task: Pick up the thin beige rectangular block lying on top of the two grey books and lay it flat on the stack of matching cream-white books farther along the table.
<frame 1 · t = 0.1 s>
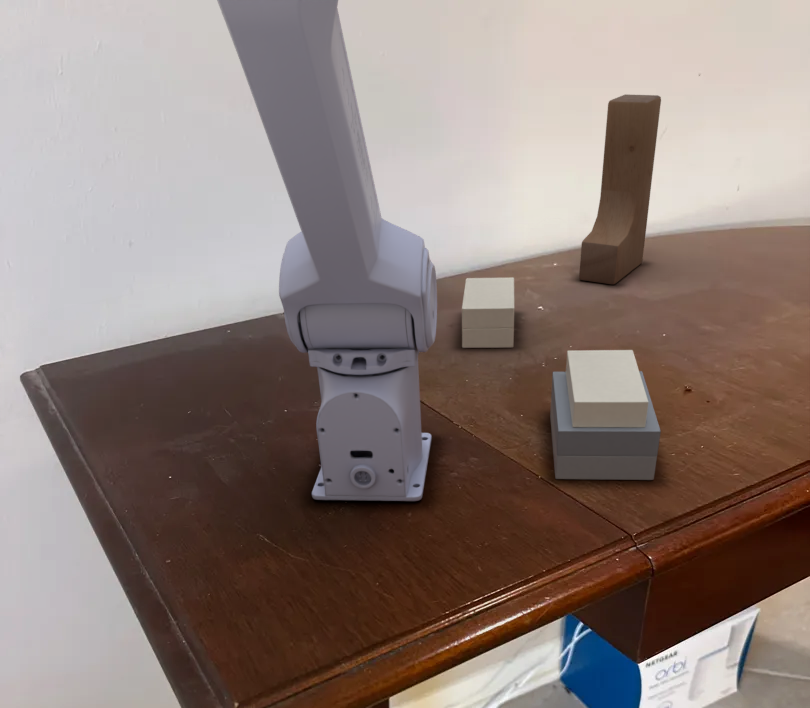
beige rectangular block: (602, 399, 61), point 4 cm above the table, touching grey book 2
wooden block: (610, 273, 96), on the table
grey book 1: (598, 446, 63), on the table, touching grey book 2
white book 1: (488, 330, 83), on the table, touching white book 2
grey book 2: (600, 423, 62), point 2 cm above the table, touching grey book 1, beige rectangular block
white book 2: (488, 311, 82), point 2 cm above the table, touching white book 1
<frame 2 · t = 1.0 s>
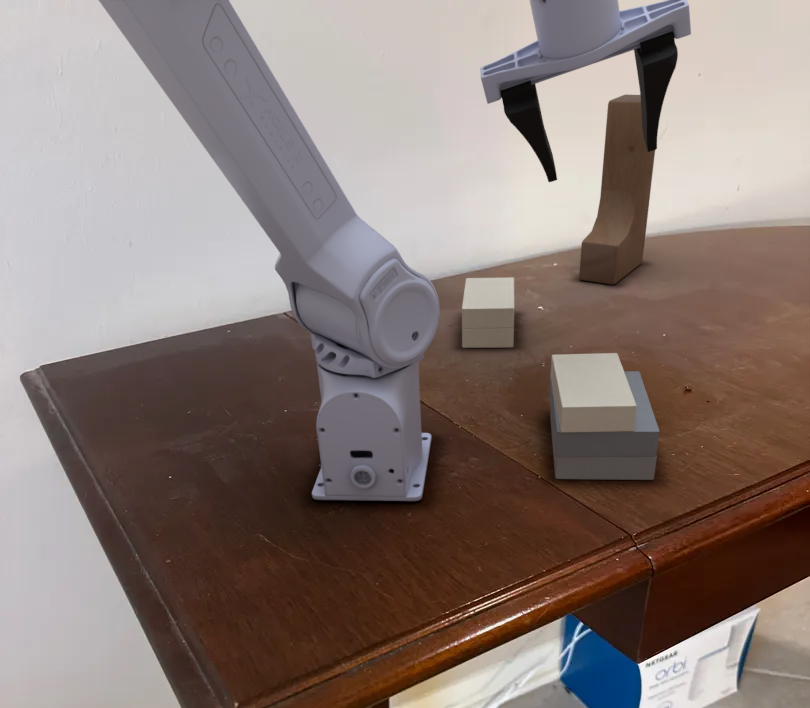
hand: (600, 160, 64), 18 cm above the table, tool tilted 20°, fingers open, 7 cm apart
beige rectangular block: (589, 403, 60), point 4 cm above the table, touching grey book 2
everything else where it was.
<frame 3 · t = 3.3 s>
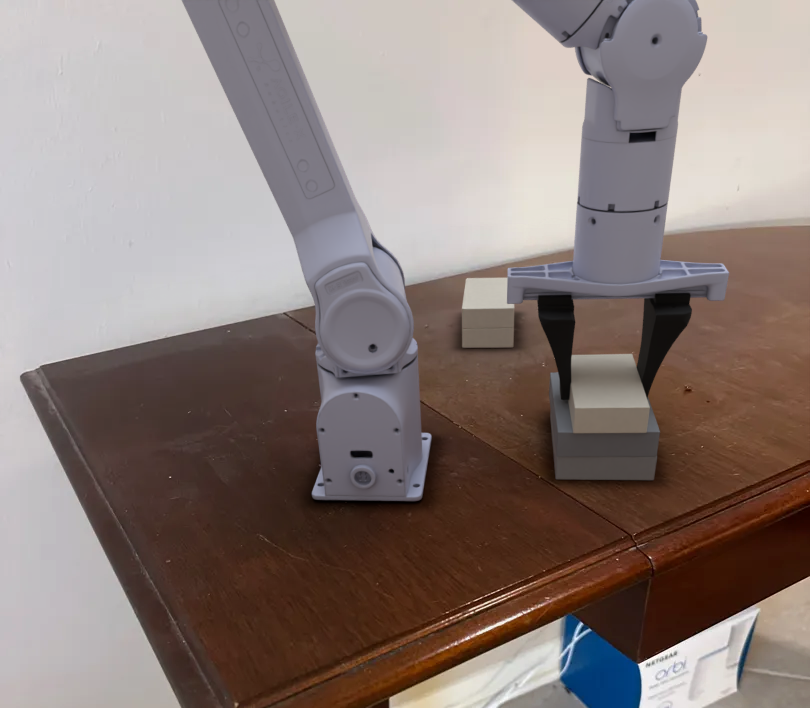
hand: (603, 394, 60), 4 cm above the table, tool pointing down, fingers closed on beige rectangular block, 5 cm apart
beige rectangular block: (603, 404, 60), point 4 cm above the table, touching gripper
grey book 2: (598, 423, 62), point 2 cm above the table, touching grey book 1
everything else where it was.
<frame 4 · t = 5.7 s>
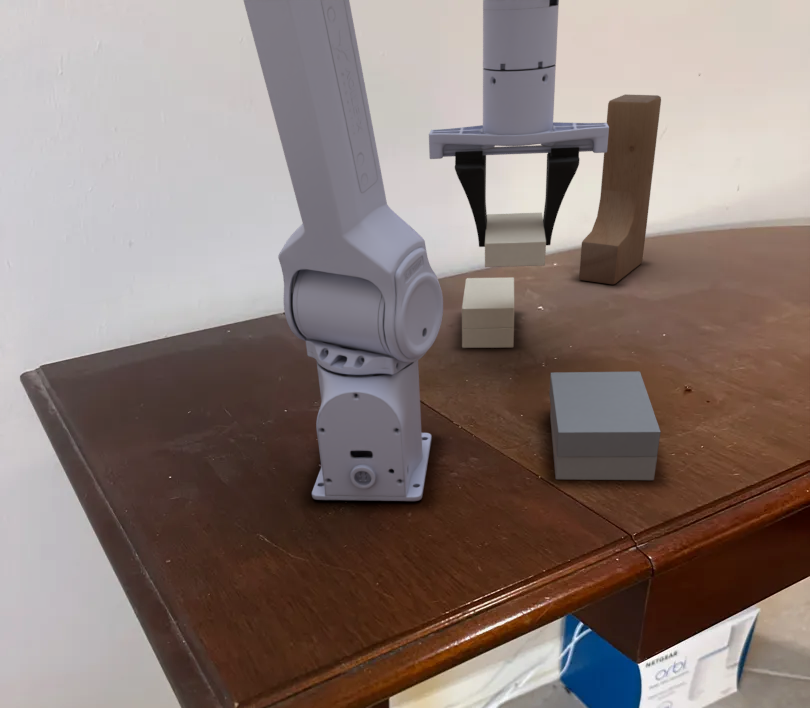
hand: (514, 243, 72), 10 cm above the table, tool pointing down, fingers closed on beige rectangular block, 5 cm apart
beige rectangular block: (514, 250, 72), point 10 cm above the table, touching gripper
everything else where it was.
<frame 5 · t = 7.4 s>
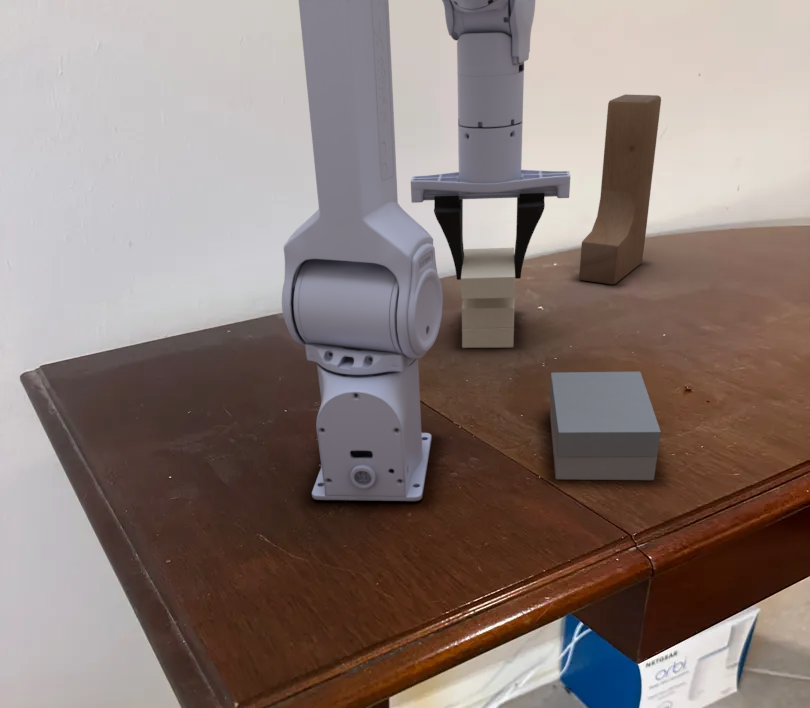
hand: (489, 276, 80), 6 cm above the table, tool pointing down, fingers closed on beige rectangular block, 5 cm apart
beige rectangular block: (488, 282, 80), point 5 cm above the table, touching gripper
everything else where it was.
when the fingers open (4 cm above the table, at t = 8.3 s): beige rectangular block stays where it is, resting on white book 2.
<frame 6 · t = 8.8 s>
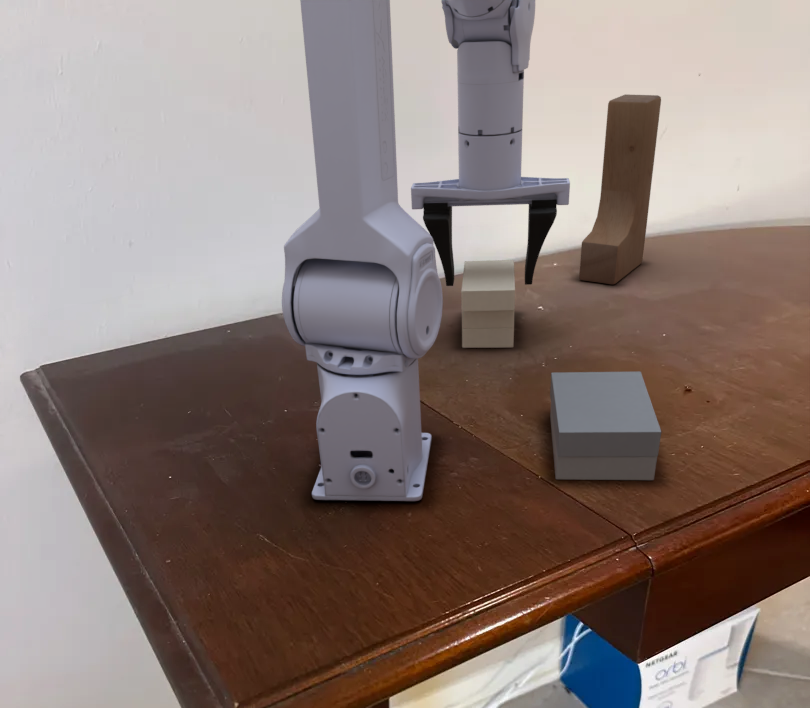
hand: (489, 282, 80), 5 cm above the table, tool pointing down, fingers open, 7 cm apart
beige rectangular block: (488, 294, 80), point 4 cm above the table, touching white book 2
white book 2: (488, 311, 82), point 2 cm above the table, touching beige rectangular block, white book 1
everything else where it was.
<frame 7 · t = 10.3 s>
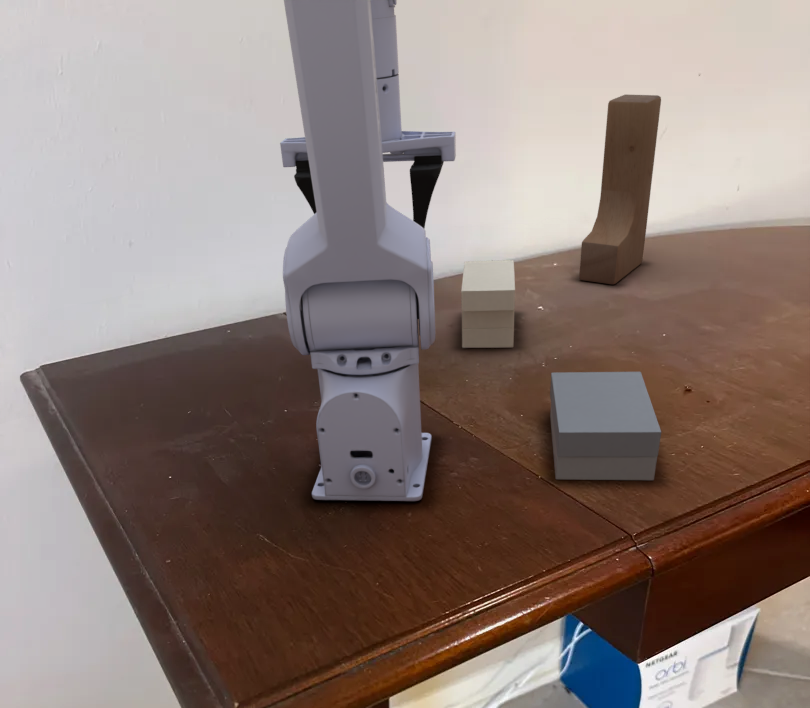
hand: (375, 249, 73), 10 cm above the table, tool pointing down, fingers open, 7 cm apart
nothing on the table moved.
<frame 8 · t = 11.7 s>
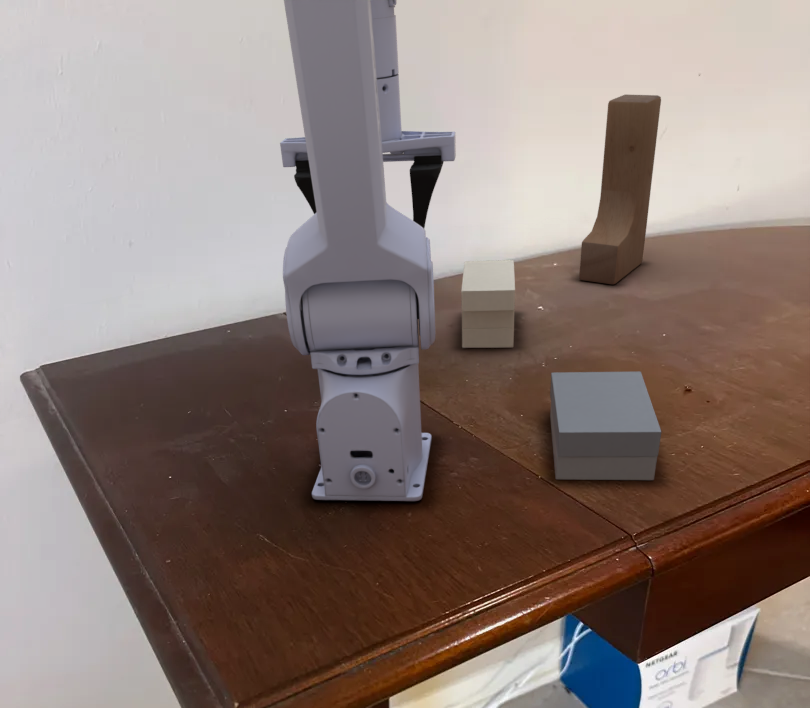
hand: (375, 249, 73), 10 cm above the table, tool pointing down, fingers open, 7 cm apart
nothing on the table moved.
at the end: beige rectangular block 0.8 cm off-centre on the white book 2, point 2.0 cm above the white book 2's base; beige rectangular block tilted 0°; beige rectangular block touching white book 2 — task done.
